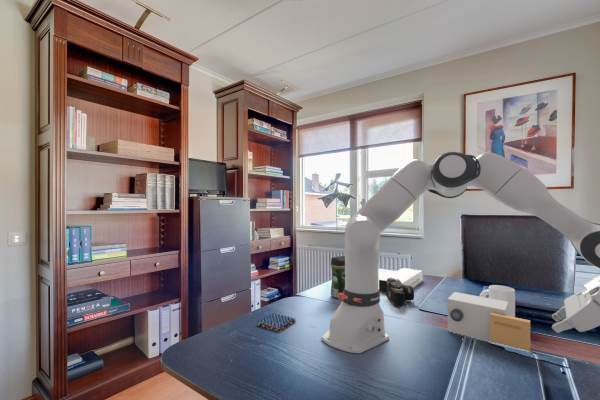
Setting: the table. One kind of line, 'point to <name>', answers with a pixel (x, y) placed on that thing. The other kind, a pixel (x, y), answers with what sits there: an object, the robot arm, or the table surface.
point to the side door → (510, 331)
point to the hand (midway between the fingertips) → (554, 323)
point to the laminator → (403, 278)
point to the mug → (502, 296)
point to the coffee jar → (338, 275)
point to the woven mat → (277, 322)
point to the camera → (399, 292)
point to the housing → (472, 314)
